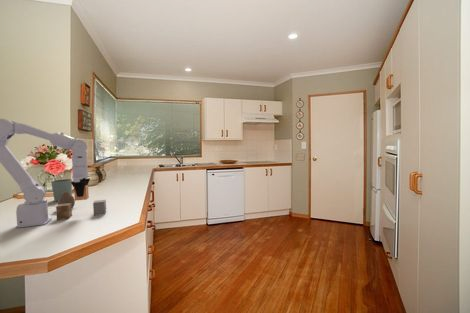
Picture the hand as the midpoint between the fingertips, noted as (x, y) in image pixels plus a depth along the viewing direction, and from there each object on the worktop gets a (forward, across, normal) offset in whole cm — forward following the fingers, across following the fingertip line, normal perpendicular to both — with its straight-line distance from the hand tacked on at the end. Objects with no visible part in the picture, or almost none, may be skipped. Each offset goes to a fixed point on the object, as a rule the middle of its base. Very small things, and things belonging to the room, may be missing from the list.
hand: (81, 195), depth 105 cm
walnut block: (+10, 0, +7) cm, 12 cm away
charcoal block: (+10, 0, -7) cm, 12 cm away
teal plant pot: (+10, +44, +20) cm, 49 cm away
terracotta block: (+2, 0, 0) cm, 2 cm away
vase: (+10, +17, +10) cm, 22 cm away
